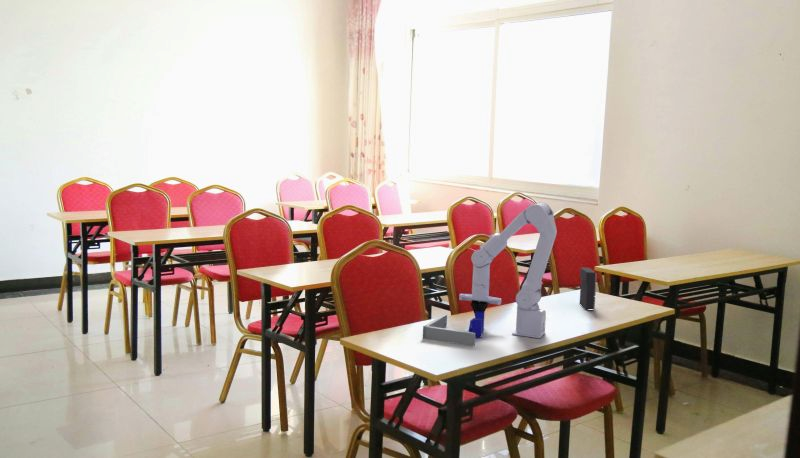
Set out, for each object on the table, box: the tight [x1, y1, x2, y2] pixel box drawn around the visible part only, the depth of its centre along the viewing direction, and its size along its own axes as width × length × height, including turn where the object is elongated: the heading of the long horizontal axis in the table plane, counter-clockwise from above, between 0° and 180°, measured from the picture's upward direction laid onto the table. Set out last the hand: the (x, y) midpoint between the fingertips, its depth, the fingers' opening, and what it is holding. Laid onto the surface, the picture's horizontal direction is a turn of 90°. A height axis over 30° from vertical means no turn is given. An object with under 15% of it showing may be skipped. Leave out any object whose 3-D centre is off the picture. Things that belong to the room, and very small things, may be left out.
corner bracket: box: [422, 313, 476, 347], centre depth 241 cm, size 17×19×4 cm
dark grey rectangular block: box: [579, 267, 597, 310], centre depth 288 cm, size 11×4×15 cm, turn 179°
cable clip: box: [468, 311, 486, 339], centre depth 245 cm, size 12×4×6 cm, turn 169°
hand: (478, 322), depth 253 cm, fingers closed
